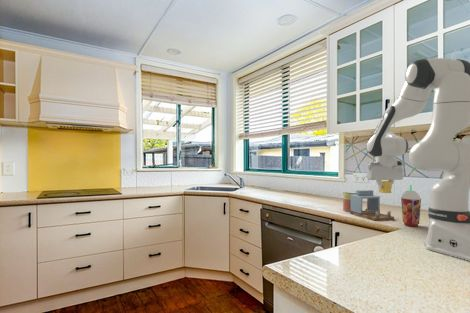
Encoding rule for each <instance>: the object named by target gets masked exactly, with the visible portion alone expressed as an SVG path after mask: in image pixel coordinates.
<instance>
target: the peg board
mask: <svg viewBox="0 0 470 313" xmlns="http://www.w3.org/2000/svg"><path fill="white" fill-rule="evenodd" d="M386 212H387V214H384V213H381V210H380V209H377V212H373V211H369V209H367V208H365V210H362V214H361V213H357V212H353V211H350V212H349V213H350V215H353V216H356V217H360V218H364V219H366V218H367V220H369V221H370V220H371V221H373V222H375V221H376V222H377V221H378V222H379V221H391V220H392V221H395V216H392V212H391V210H387V211H386Z"/></svg>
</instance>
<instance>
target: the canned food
mask: <svg viewBox="0 0 470 313" xmlns="http://www.w3.org/2000/svg"><path fill="white" fill-rule="evenodd" d="M342 194H343V196H342V199H343V200H342V203H343V204H342V210H343V212H346V213H350V211H351V195H356V190H346V191H345V190H343V191H342Z"/></svg>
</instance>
